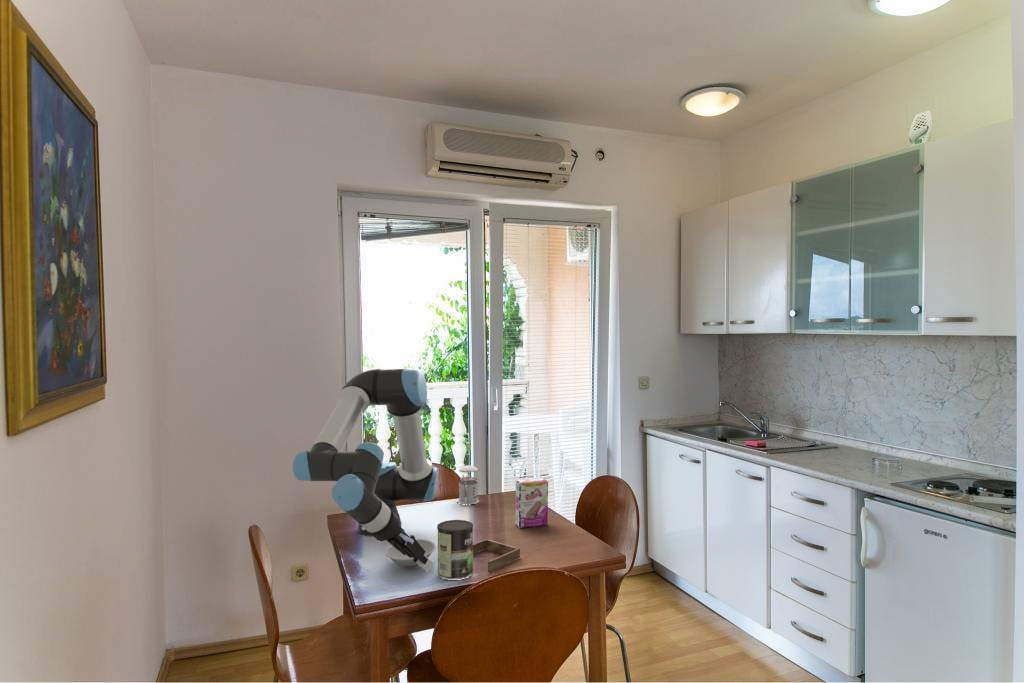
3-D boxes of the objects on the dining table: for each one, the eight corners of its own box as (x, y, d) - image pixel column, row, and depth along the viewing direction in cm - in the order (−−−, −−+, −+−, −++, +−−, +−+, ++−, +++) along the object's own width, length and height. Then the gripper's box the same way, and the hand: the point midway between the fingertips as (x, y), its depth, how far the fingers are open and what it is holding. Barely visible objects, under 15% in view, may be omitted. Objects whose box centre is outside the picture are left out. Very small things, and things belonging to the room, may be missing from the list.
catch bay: (455, 560, 178) (455, 550, 178) (486, 548, 188) (486, 538, 188) (489, 572, 169) (489, 561, 169) (519, 558, 180) (519, 548, 180)
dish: (400, 553, 184) (400, 537, 185) (443, 556, 182) (443, 540, 182) (375, 574, 167) (375, 557, 167) (423, 578, 164) (423, 561, 164)
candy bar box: (519, 529, 208) (519, 483, 208) (515, 524, 213) (514, 479, 213) (548, 525, 211) (548, 480, 211) (543, 521, 216) (543, 477, 216)
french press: (483, 499, 247) (482, 440, 247) (475, 507, 235) (474, 445, 236) (460, 498, 249) (460, 439, 249) (452, 505, 238) (451, 444, 238)
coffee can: (477, 568, 172) (477, 520, 172) (467, 582, 162) (467, 531, 162) (443, 565, 174) (443, 518, 174) (432, 579, 164) (432, 529, 164)
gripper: (355, 528, 149) (406, 573, 162) (387, 539, 141) (438, 585, 154) (372, 503, 153) (420, 549, 166) (404, 512, 145) (452, 559, 158)
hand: (429, 566), depth 160 cm, fingers closed
